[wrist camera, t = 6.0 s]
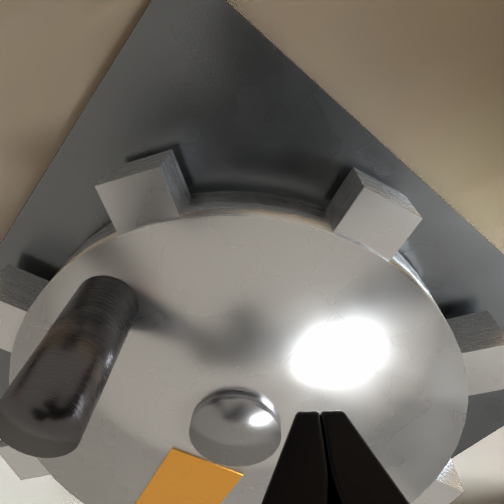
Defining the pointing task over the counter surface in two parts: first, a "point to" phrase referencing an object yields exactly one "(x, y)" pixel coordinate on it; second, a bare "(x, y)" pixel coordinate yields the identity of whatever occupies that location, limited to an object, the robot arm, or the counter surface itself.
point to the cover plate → (241, 158)
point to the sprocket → (234, 344)
